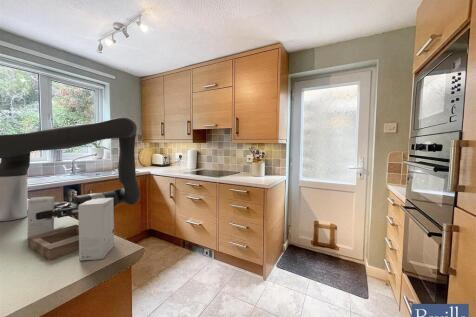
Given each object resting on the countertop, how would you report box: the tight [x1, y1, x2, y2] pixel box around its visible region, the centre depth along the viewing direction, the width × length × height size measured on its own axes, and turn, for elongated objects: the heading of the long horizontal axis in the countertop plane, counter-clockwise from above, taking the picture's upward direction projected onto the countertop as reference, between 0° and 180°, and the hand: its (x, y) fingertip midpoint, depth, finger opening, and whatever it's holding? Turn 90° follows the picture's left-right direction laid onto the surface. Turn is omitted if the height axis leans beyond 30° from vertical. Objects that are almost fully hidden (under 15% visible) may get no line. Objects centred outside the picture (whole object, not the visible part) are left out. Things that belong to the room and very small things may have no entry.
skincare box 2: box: [78, 198, 115, 262], centre depth 57 cm, size 8×6×15 cm
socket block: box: [27, 224, 79, 261], centre depth 62 cm, size 14×12×3 cm
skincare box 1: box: [27, 195, 56, 238], centre depth 69 cm, size 6×4×12 cm
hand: (32, 214), depth 67 cm, fingers closed on skincare box 1, 6 cm apart
